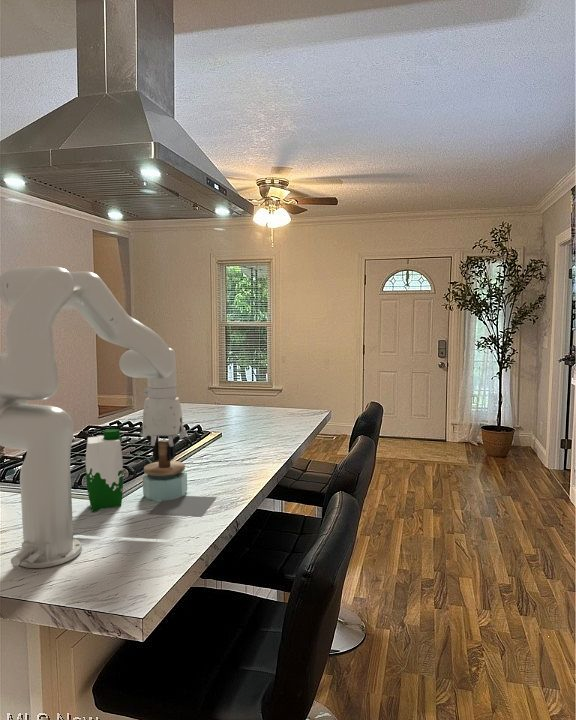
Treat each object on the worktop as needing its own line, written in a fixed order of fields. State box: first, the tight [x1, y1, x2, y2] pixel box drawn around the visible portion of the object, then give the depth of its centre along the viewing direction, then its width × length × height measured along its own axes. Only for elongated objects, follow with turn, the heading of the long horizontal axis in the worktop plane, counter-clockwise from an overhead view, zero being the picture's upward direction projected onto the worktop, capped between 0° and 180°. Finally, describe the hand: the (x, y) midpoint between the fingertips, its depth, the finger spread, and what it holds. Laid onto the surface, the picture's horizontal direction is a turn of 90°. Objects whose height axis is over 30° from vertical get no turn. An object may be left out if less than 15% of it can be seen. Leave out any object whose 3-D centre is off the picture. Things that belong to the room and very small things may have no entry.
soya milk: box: [85, 428, 124, 513], centre depth 140 cm, size 9×9×20 cm
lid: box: [143, 439, 186, 476], centre depth 147 cm, size 11×11×8 cm
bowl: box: [142, 470, 188, 502], centre depth 148 cm, size 11×11×6 cm
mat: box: [147, 495, 218, 518], centre depth 139 cm, size 14×14×1 cm
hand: (164, 458), depth 147 cm, fingers closed on lid, 3 cm apart
